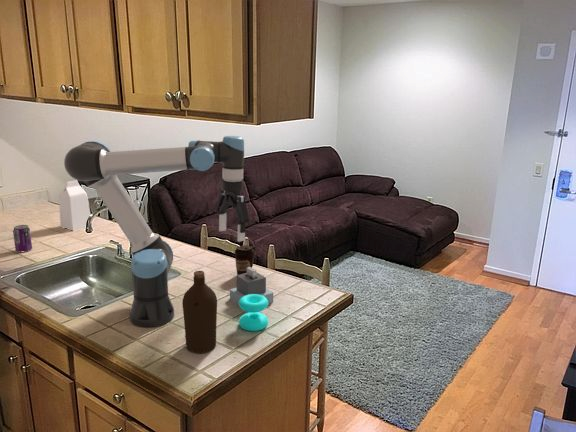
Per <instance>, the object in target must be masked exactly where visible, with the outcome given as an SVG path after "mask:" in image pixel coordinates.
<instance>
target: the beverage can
mask: <svg viewBox="0 0 576 432" xmlns="http://www.w3.org/2000/svg"><path fill="white" fill-rule="evenodd" d="M30 229H31V228H30V227H29V225H27V224H19V225H15V226H14V227H13V231H12V234H13V242H14V246H15V247H14V248H15V251H16V252H18V251H20V252H19V253H22V252H21V251H27V252H29V251H31V250H32V249H33V243H32V234H31V230H30ZM28 250H29V251H28Z"/></svg>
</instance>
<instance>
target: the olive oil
mask: <svg viewBox="0 0 576 432" xmlns="http://www.w3.org/2000/svg"><path fill="white" fill-rule="evenodd" d="M192 278H193V283H192V285H191V286H190V287H189V288H188V289H187V290H186V291H185V293H184V295H183V298H182V303H181V304H182V313H183V323H184V336H185V348H186V350H187V351H188V352H191V353H194V354H205V353H209V352H211V351H213V350H214V349H215V348H216V347H217V320H218V319H217V318H218V316H217V315H218V298H217V295H216V293H215V291H214V290H213V289H212V288H211V287H210V286H208V284H206V278H205V271H203V270H195V271H194V272H193V276H192Z"/></svg>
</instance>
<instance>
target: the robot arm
mask: <svg viewBox="0 0 576 432" xmlns="http://www.w3.org/2000/svg"><path fill="white" fill-rule="evenodd" d="M244 162H245V139H244V137H242V136H238V135H225V136H223V137H222V141H213V140H211V141H209V140H208V141H207V140H199V139H198V140H190V141H189V142H188V146H181V147H180V146H179V147H165V148H150V149H149V148H148V149H136V150H135V149H134V150H131V149H130V150H119V151H111V150H110V149H109V147H108V146H107V145H105V144H104V143H102V142H99V141H94V140H93V141H85V142H84V143H81V144H80V145H77V146H74V147H73V148H71V149H70V150H69V151H68V152H67V153H66V154H65V156H64V162H63V163H64V168H65V171H66V173H67V174H68V175H69V176H70V177H72V178H73V179H74V180H75V181H78V182H84V183H85V185H86V186H87V187H88V188H91V189H94V190H95V191H96V193H97V194H98V196H99V197H100V199H101V200H102V202H103V204H104V205H105V206H106V208H107V210H108V211H109V212H110V214H111V215H112V217H113V219H114V221H116V223H117V224H118V227H120V229H121V231H122V232H123V233H124V235H125V237H126V239H127V240H128V241H129V243H130V245H131V249H130V252H131V253H132V255H133V256H132V258H131V261H130V262H131V264H130V269H131V277H132V291H133V294H132V295H133V300H132V305H131V308H130V310H129V322H130V323H132V324H133V325H134V326H137V327H141V328H154V327H160V326H163V325H166V324H167V323H170V322H171V321H172V320H174V317H175V307H174V306H173V303H172V301H171V299H170V295H169V284H168V275H169V272H170V269H171V266H172V265H173V263H174V262H173V261H174V252H173V249H172V246H171V245H170V244H169V243H168V242H167V241H165V240H163V239H162V237H161V236H160V234H159V233H155V232H153V230H152V229H151V227H150V226H149V225H148V223H147V221H146V220H145V218H144V216H143V215H142V213H141V212H140V210H139V208H138V207H137V206H136V204H135V203H134V200H133V199H132V198H131V196H130V194H129V193H128V192H127V190H126V188H125V187H124V185H123V184H122V182H121V180H120V179H119V177H118V176H120V175H123V176H124V175H133V174H136V175H137V174H146V173H159V172H160V173H162V172H174V171H188V170H190V171H191V170H197V171H200V172H205V171H208V170H209V169H210V168H211V167H212V166H213V165H214V163H215V164H217V163H218V164H222V179H223V180H222V181H221V183H222V185H221V189H220V192H219V197H218V199H217V204H216V207H215V211H216V212H217V213H218V214H219V215H218V232H225V231H227V211H228V209H229V207H230V206H231V207H232V209H233V210H234V212H235V216H236V218H237V220H238V222H237V237H236V238H237V239H236V240H237V242H239V243H240V242H243V241H244V242H245V241H246V224H250V218H249V212H248V209H247V203H246V196H245V195H241V192H242V191H243V190H244V181H243V179H244V172H245V171H244V165H245V163H244Z"/></svg>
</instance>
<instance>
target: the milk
mask: <svg viewBox="0 0 576 432" xmlns="http://www.w3.org/2000/svg"><path fill="white" fill-rule="evenodd" d="M58 203H59V205H58V206H59V220H60V221H59V222H60V224H59V225H60V228H61V227H64V228H67V229H70V230H73V231H72V232H75V231H74V230H77V229H80V230H82V229H81V228H84V229H86V228H85V225H86V221H87V219H88V217H89V215H91V209H90V208H91V207H90V203H89V197H88V193H87V192H86V191H85V190H84V189H83V187H82V186H81V185H80V184H79V180H70V181H66V183H65V185H64V187H63V189H62V190H61V191H60V193H59V195H58ZM67 229H66V230H67ZM70 230H69V231H70ZM77 231H78V230H77Z"/></svg>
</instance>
